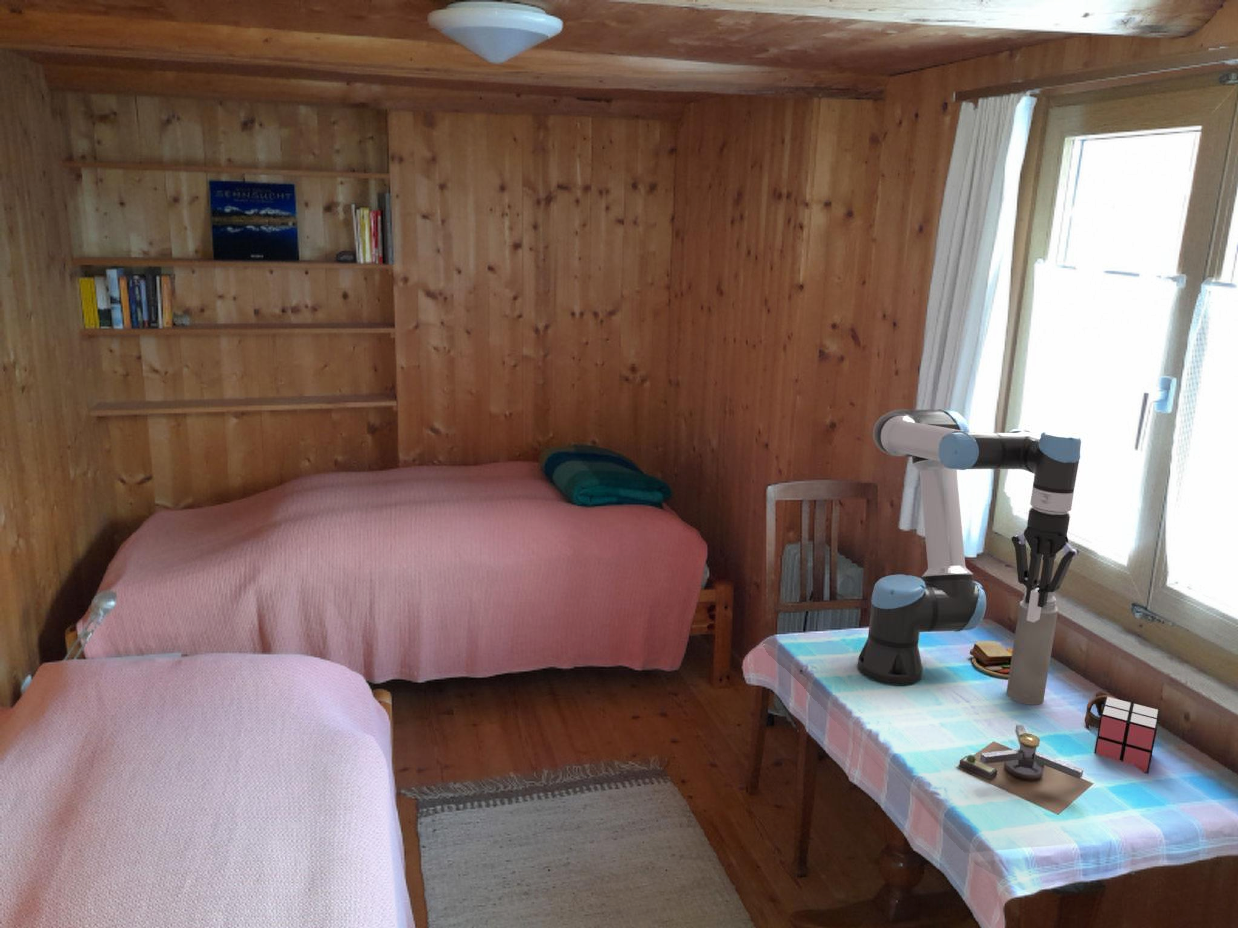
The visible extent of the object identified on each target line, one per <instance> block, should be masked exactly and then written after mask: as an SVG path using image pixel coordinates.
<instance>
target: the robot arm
mask: <svg viewBox="0 0 1238 928" xmlns="http://www.w3.org/2000/svg"><path fill="white" fill-rule="evenodd" d="M872 430H873V431H872V438H873V441H874V444H875V445H876V447H877V448H878V449H879V450H880V451H881V452H883V453H884V454H885V455H886V454H887V455H888V456H895V457H904V458H905V457H909V458H911V459H912V466H913V467H912V468H914V469H916V470H917V471H918V472H919V477H920V478H919V479H920V490H921V502H922V513H923V523H924V525H923V527H924V537H925V546H926V547H925V548H926V560H927V570H926V571H925V572H924V573H923V575H922V576H921V577H922V578H921V577H918V576H914V575H911V574H909V575H906V574H893V575H892V574H890V575H887V576H884V577H881V578H880V579H878V580H877V581H876V582H875V584H874V587H873V591H872V595H871V599H870V600H871V604H870V605H871V607H870V615H869V616H870V618H869V624H868V634H867V639H866V641H865V643H864V645H863V647H862V650H861V651H860V653H859V654H858V658H857V664H856V665H857V666H856V667H857V670H858V672H859V673H860V674H862V676H864V677H865V678H867V679H870V680H871V681H874V682H877V683H880V684H881V683H882V684H886V685H890V686H891V685H892V686H909V685H913V684H914V685H915V684H917V683H919V682H920V681H921V680H922V677H923V672H924V667H923V663H922V657H921V654H920V653H921V652H920V649H919V643H920V642H919V640H920V634H921V633H926V632H927V633H934V632H936V633H939V632H941V633H942V632H954V633H955V632H956V633H957V632H958V633H959V632H962V631H971V630H974V629H975V628H977V627H978V626H979V625H980V624H981V622H982V620H983V618H985V617H984V616H985V613H986V608H987V596H986V593H985V590H984V587H983V586H982V584H981V583H980V582H977V581H975V580H974V573H973V572H971V571H970V570H969V569H968V568H967V567H966V559H965V558H966V557H965V549H964V540H963V539H964V536H963V526H962V516H961V515H962V513H961V506H960V495H959V485H958V474H957V471H959V470H960V471H966V470H1023V471H1027V472H1029V473H1032V474H1034V475H1033V476H1034V477H1033V483H1032V490H1031V497H1030V502H1029V504H1030V506H1031V507H1030V508H1029V509H1028V516H1027V522H1026V524H1027V525H1026V528H1025V529H1024V531H1023V533H1020V534H1015V535H1014V536H1012V537H1011V539H1010V540H1011V543H1012V544H1013V547H1014V550H1015V552H1014V553H1015V561H1016V563H1015V564H1016V571H1017V573H1016V575H1017V581H1018V583H1019V584H1021V585H1023V586H1025V587H1026V592H1025V593H1026V598H1025V602H1026V603H1028V604H1029V608H1028V614H1027V621H1031V622H1036V621H1037V620H1039V619H1040V613H1041V607H1042V608H1043V607H1045V606H1046V604H1047V598H1048V593H1049V592H1053V593H1054V592H1056V591H1058V590H1059V589H1060V588H1061V585H1062V583H1063V581H1064V578H1065V576H1066V574H1067V572H1068V570H1069V568H1070V566H1071V563H1072V561H1073V560H1074V558H1075V557H1076V556H1078V555H1079V553H1080V551H1079V549H1078V548H1073V546H1072V545H1070V543H1069V538H1068V530H1069V525H1070V521H1071V519H1070V518H1071V514H1070V513H1069V512H1070V511H1071V510H1072V508H1073V507H1072V506H1073V499H1074V494H1075V486H1076V480H1077V477H1078V476H1077V475H1078V469H1079V464H1080V459H1081V447H1082V446H1081V444H1082V441H1081V438H1080V436H1078V435H1076V434H1074V433H1069V432H1065V431H1057V430H1055V431H1054V430H1049V431H1043V432H1042V433H1041V435H1038V434H1035V433H1033V432H1030V431H1029V430H1026V429H1024V430H1023V429H1011V430H1009V431H1006V432H972V431H970V428H969V424H968V423H967V421H966V420H965V418H964V417H963V416H962V415H961V414H960V413H959V412H957V411H955V410H946V409H945V410H944V409H942V408H939V409H903V408H902V409H894V410H891V411H889V412H887V413H884V414H883V415H882V416H880V417H879V418H878V419H877V421H876V422H875V424H874V427H873V429H872ZM1026 544H1027V545H1028V546H1029V548H1030V553H1029V558H1030V559H1029V561H1028V552H1027V545H1026ZM1062 549H1063V551H1062V555H1063V556H1062V558H1061V559H1060V561H1059V564H1058V566H1057V568H1056V571H1055V572H1054V575H1053V570H1054V566H1055V559H1056V557H1057V554H1058V553H1059V552H1061V550H1062ZM1028 562H1029V563H1028ZM1041 563H1042V566H1041ZM1041 567H1042V568H1041ZM1040 571H1041V572H1040ZM1039 575H1040V578H1039ZM1038 580H1040V586H1039V588H1036V586H1038V585H1039V584H1037V583H1038Z"/></svg>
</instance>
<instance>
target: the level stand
mask: <svg viewBox="0 0 1238 928" xmlns="http://www.w3.org/2000/svg"><path fill="white" fill-rule="evenodd" d="M1013 749H1014V748H1011V747H1008V746H1007V745H1004V744H1001V743H999V742H997V741H994V740H993V741H992V742H991V743H989V744H987V745H986V746H985V747H983V748H981V749H980V750H978V751H977V752H975V754H969V755H965V756H964V757H963V758H961V759H959V764H958V765H957V766H955V769H957V770H959V771H962V772H963V773H966V774H968V775H971V776H973V777H975V778H977V779H979V780H981V781H983V782H986V783H988V784H990V785H992V786H995V787H997V788H999V789H1001V790H1003V791H1006V792H1007V793H1009V794H1011V795H1014V796H1016V797H1019V798H1021V799H1023V800H1025V801H1027V802H1029V803H1032V804H1034V805H1035V806H1038V807H1040V808H1042V809H1045V810H1046V811H1049V812H1051V813H1053V814H1056V815H1060V814H1061V813H1062V812H1063V811H1064V810H1066V809H1067V808H1068V806H1071V804H1072V803H1074V802H1075V801H1076V800H1077V799H1079V797H1080V796H1081V795H1082V794H1084V793H1085V792H1086V791H1087V790H1088V789H1089V788H1090V787H1092V786H1093V784H1094V783H1093V782H1091V781H1089V780H1087V779H1085V778H1082V777H1081V778H1080V779H1078V778H1075V777H1073V776H1070V775H1068V774H1065V773H1063V772H1060V771H1058V770H1055V769H1053V768H1050V767H1048V766H1045V765H1044V770H1043V776H1042V778H1041V779H1040V780H1038V781H1024V780H1020V779H1017V778H1015V777H1013V776H1011V775H1009V774H1008V773H1007V772H1006V771H1005V770H1004V762H1005V761H1004V762H996V763H988V764H984V763H983V762H982V761H981V760H980V757H981V753H988V752H996V751H1004V750H1013Z"/></svg>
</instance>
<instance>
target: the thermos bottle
mask: <svg viewBox="0 0 1238 928" xmlns="http://www.w3.org/2000/svg"><path fill="white" fill-rule="evenodd" d="M1037 584H1039V585H1038V586H1036V588H1039V586H1040V579H1038V583H1037ZM1053 595H1054V592H1049V593H1048V598H1047V604H1046V606H1045V607H1043V608H1042V607H1041V613H1040V619H1039V620H1037V621H1036V622H1031V621H1027V614H1028V608H1029V604H1028V603H1026V602H1025V598H1026V592H1024V596H1023V597H1022V598H1023V600H1021V601H1020V602H1019V604H1018V605H1019V606H1018V612H1017V613H1018V614H1017V621H1016V627H1015V632H1014V640H1013V647H1012V651H1013V652H1012V659H1011V665H1010V672H1009V678H1007V686H1006V695H1007V696H1008V698H1010V699H1011V700H1013V701H1015V702H1019V703H1021V704H1025V705H1026V704H1027V705H1040V704H1042V703H1043V702H1044V700H1045V694H1046V688H1047V682H1048V676H1049V669H1050V664H1051V663H1050V662H1051V657H1052V650H1053V645H1054V638H1055V631H1056V626H1057V619H1058V612H1059V608H1058V607H1057V605H1056V604H1057V599H1056V597H1055V596H1053Z"/></svg>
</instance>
